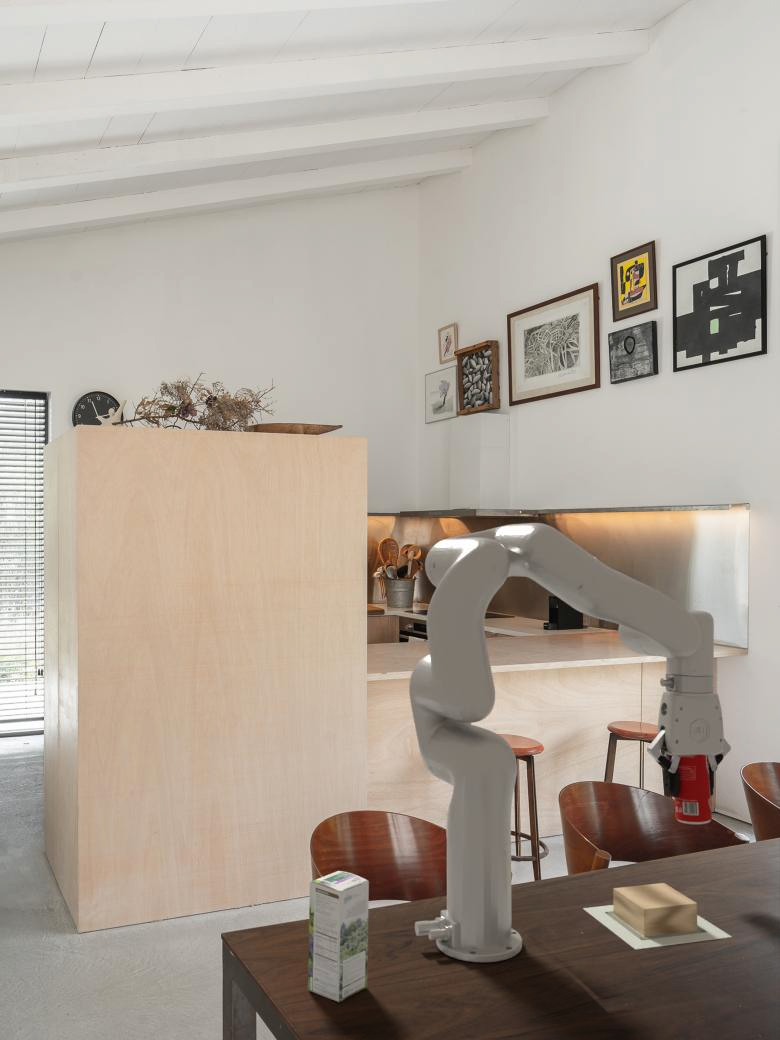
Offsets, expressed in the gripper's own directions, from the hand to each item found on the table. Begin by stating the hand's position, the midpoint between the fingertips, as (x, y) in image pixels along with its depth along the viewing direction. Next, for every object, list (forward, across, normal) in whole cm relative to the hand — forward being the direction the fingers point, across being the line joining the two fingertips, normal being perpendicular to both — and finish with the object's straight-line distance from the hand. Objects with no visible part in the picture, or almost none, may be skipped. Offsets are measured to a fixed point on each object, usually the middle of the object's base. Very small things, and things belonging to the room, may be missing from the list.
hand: (689, 793), depth 155 cm
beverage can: (+5, 0, 0) cm, 5 cm away
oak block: (+17, -11, -8) cm, 22 cm away
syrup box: (+20, -62, -14) cm, 67 cm away
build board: (+18, -11, -8) cm, 23 cm away
